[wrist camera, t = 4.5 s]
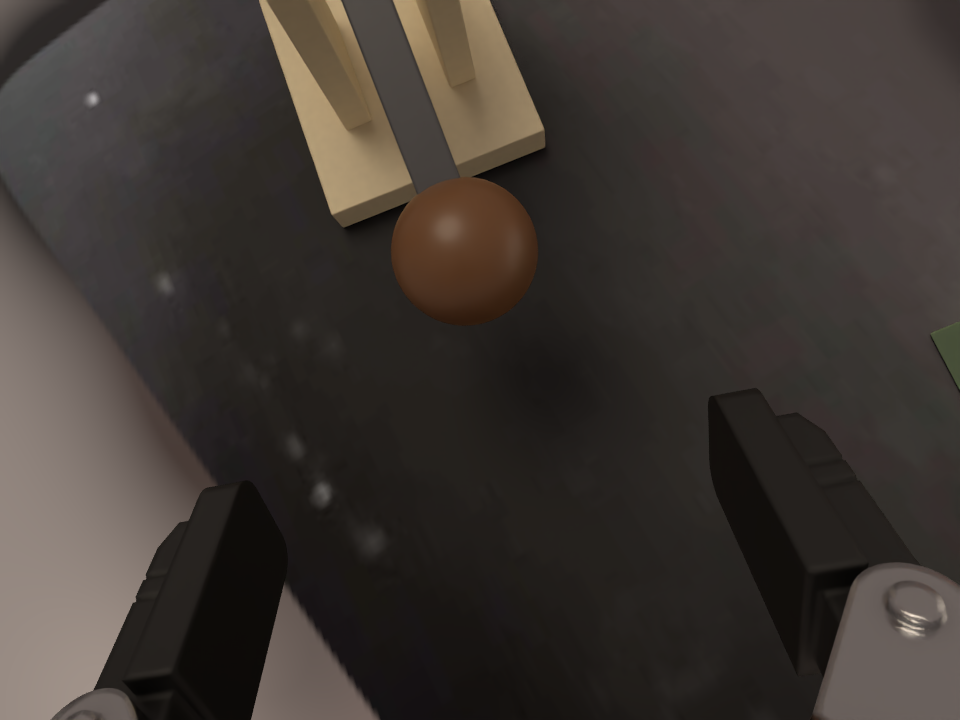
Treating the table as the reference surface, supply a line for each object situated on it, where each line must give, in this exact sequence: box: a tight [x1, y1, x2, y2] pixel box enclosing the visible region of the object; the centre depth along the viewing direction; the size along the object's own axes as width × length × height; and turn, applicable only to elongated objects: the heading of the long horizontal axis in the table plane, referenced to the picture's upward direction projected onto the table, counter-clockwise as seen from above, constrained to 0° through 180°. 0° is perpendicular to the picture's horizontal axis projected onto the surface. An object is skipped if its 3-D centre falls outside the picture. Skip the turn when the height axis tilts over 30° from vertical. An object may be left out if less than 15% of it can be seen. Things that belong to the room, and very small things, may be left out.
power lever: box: [341, 0, 538, 326], centre depth 16 cm, size 14×4×4 cm, turn 20°
